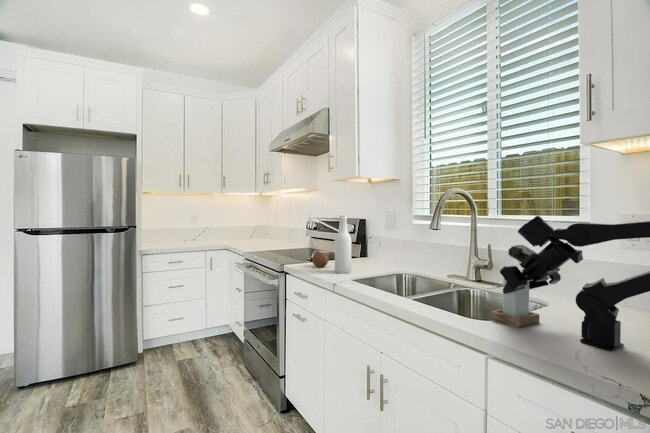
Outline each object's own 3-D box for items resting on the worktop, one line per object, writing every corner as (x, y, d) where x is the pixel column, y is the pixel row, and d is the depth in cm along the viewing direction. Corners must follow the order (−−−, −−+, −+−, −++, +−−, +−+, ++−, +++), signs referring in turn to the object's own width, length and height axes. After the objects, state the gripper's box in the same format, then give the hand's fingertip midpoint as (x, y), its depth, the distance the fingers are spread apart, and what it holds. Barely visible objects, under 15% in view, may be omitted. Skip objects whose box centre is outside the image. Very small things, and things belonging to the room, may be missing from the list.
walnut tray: (539, 322, 97) (539, 314, 97) (519, 328, 92) (519, 319, 92) (512, 314, 104) (512, 306, 104) (491, 319, 100) (492, 311, 100)
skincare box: (515, 315, 102) (516, 276, 101) (528, 319, 98) (530, 279, 97) (501, 317, 99) (502, 277, 99) (514, 322, 95) (516, 280, 95)
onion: (314, 271, 194) (307, 256, 196) (328, 266, 198) (321, 250, 200) (318, 268, 185) (312, 251, 187) (333, 262, 189) (326, 246, 191)
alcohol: (331, 271, 177) (331, 215, 177) (343, 270, 182) (344, 215, 182) (342, 274, 170) (342, 215, 170) (354, 272, 176) (355, 215, 175)
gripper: (550, 235, 98) (515, 267, 108) (506, 237, 91) (472, 271, 101) (579, 266, 91) (538, 297, 101) (534, 271, 83) (495, 304, 94)
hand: (511, 291), depth 100 cm, fingers closed on skincare box, 6 cm apart
